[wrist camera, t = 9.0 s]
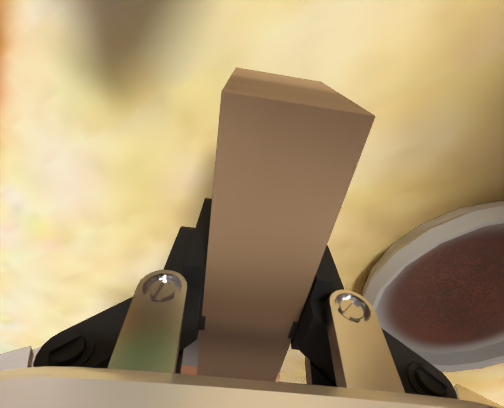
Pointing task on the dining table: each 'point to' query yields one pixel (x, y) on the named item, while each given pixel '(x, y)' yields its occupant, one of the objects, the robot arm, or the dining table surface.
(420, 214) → the dining table surface
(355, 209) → the dining table surface
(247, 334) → the plate
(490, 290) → the frying pan
